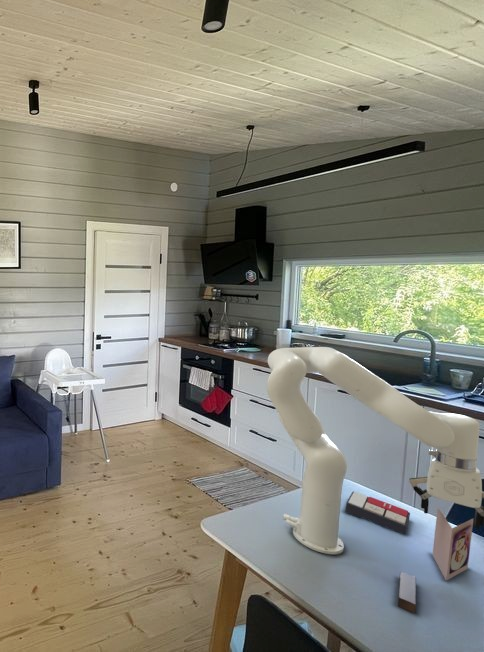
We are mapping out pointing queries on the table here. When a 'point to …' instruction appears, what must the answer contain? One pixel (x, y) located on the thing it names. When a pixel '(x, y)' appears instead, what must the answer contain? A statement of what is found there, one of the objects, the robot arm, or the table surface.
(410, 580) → the walnut bar
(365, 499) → the calculator
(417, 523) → the table surface
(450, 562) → the greeting card
